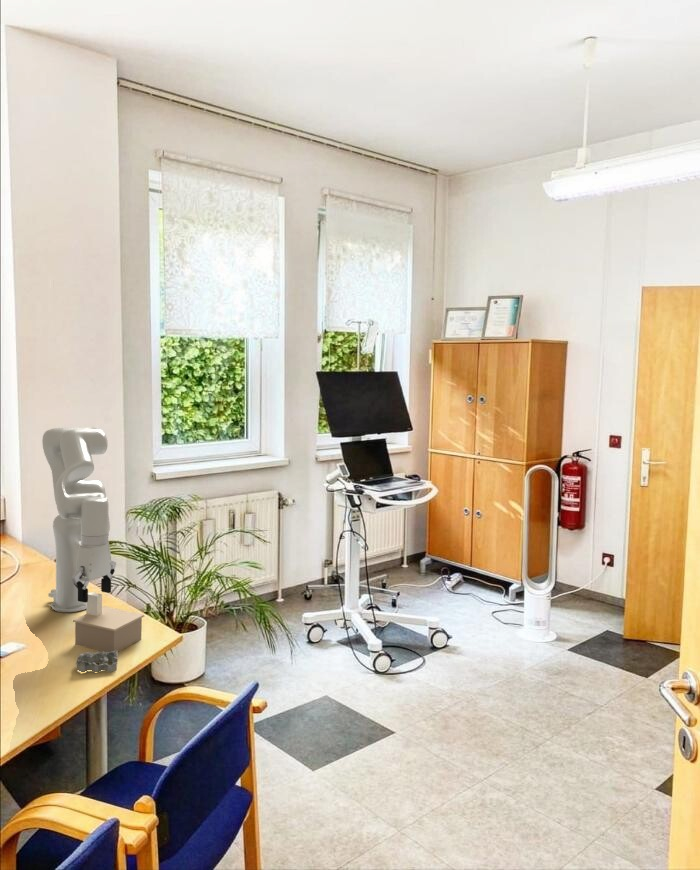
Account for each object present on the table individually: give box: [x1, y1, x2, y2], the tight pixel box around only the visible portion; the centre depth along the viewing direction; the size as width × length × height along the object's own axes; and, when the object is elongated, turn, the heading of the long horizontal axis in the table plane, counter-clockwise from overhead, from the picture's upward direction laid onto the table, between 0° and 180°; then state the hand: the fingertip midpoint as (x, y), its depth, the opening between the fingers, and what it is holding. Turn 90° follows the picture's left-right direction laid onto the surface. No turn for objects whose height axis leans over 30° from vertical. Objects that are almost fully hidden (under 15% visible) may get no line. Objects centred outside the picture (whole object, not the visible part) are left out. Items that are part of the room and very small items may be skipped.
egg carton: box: [75, 650, 119, 673], centre depth 191 cm, size 11×8×4 cm
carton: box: [74, 617, 143, 653], centre depth 208 cm, size 14×12×7 cm
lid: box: [72, 591, 145, 632], centre depth 207 cm, size 15×13×7 cm
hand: (94, 596), depth 209 cm, fingers open, 9 cm apart
